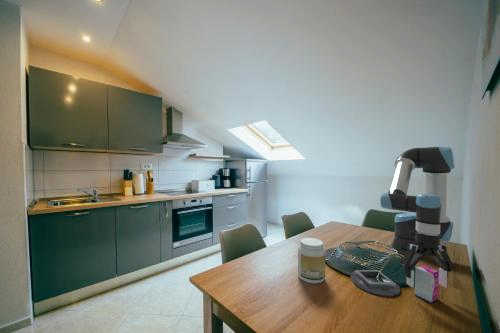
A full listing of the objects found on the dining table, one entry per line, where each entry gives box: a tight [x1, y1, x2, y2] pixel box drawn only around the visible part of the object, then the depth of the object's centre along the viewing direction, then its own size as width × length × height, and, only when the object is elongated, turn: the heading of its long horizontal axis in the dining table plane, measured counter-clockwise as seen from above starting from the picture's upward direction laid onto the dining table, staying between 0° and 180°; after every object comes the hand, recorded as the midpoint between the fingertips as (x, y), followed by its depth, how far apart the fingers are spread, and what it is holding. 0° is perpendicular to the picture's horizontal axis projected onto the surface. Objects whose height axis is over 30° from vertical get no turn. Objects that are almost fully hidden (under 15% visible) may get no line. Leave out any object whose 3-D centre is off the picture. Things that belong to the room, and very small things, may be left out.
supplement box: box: [413, 265, 439, 304], centre depth 83 cm, size 6×6×12 cm
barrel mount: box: [350, 269, 401, 298], centre depth 93 cm, size 19×19×3 cm
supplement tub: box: [297, 237, 326, 284], centre depth 97 cm, size 12×12×17 cm
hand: (426, 285), depth 83 cm, fingers open, 13 cm apart
